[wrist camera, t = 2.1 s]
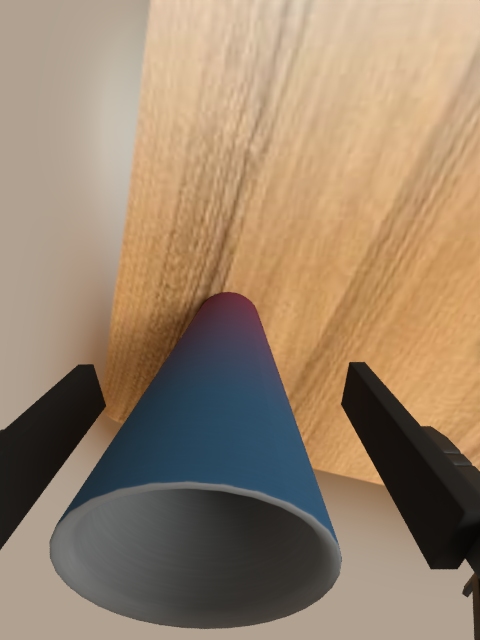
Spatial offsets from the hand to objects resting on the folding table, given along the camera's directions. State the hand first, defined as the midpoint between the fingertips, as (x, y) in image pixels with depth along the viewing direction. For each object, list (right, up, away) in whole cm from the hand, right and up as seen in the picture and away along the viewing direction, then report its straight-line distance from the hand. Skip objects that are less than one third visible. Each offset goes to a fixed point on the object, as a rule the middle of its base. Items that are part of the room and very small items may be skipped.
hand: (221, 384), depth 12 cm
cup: (0, +3, +7) cm, 8 cm away
